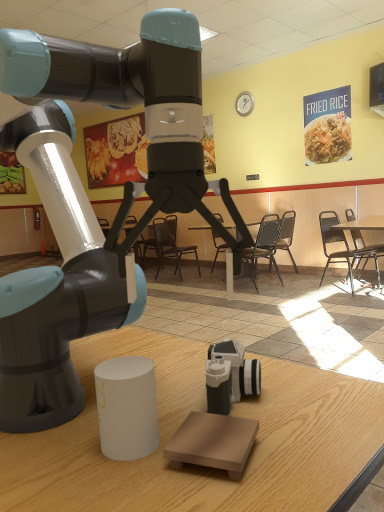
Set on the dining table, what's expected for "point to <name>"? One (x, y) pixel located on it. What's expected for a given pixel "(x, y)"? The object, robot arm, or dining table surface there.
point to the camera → (229, 376)
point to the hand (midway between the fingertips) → (181, 299)
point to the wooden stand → (213, 442)
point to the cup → (127, 407)
